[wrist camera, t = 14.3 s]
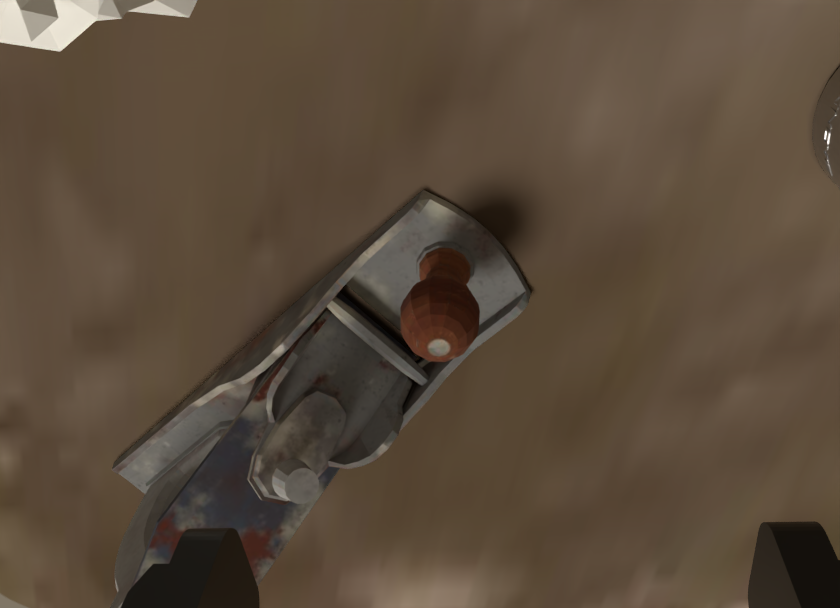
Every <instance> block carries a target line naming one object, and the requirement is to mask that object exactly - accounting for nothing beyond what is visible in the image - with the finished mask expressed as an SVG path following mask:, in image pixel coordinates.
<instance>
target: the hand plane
mask: <svg viewBox="0 0 840 608" xmlns="http://www.w3.org/2000/svg"><path fill="white" fill-rule="evenodd" d="M345 284H346V285H347V286H348V287H349V288H351V289H352V290H353V291H354V292H355V293H357V294H358V295H359V296H360V297H361V298H362V299H364V300H365V301H366V302H367V303H368V304H369V305H371V306H372V307H373V308H374V309H375V310H376V311H378V312H379V313H380V314H381V315H382V316H383V317H385V318H386V319H387V320H388V321H389V322H390V323H392V324H393V325H394V326H395V327H396V328H397V329H399V330H400V331H401V334H402V336H403V338H404V340H405V341H406V343H407V344H408V346H409V347H410V348H411V350H412V351H413V352H414V353H415V354H416V355H418V356H420V357H422V358H423V359H421V360H420V361H419V362H417V363H416V362H415V360H416V358H417V357H416V356H414V355H413V354H412V353H411V352H410V351H409V350H407V349H406V348H405V347H404V346H403V345H401V344H400V343H399V342H398V341H397V340H396V339H394V338H393V337H392V336H391V335H390V334H389V333H387V332H386V331H385V330H384V329H383V328H381V327H380V326H379V325H378V324H377V323H376V322H374V321H373V320H372V319H371V318H370V317H368V316H367V315H366V314H365V313H364V312H363V311H361V310H360V309H359V308H358V307H357V306H355V305H354V304H353V303H352V302H351V301H350V300H348V299H347V298H346V297H345V296H344V295H342V294H341V293H340V292H339V291H340V290H341V289H342V288H343V287H344V286H345ZM530 294H531V293H530V290H529V288H528V286H527V284H526V283H525V281H524V279H523V277H522V275H521V273H520V271H519V269H518V267H517V266H516V264H515V263H514V261H513V260H512V258H511V257H510V256H509V254H508V253H507V251H506V250H505V248H504V247H503V246H502V245H501V244H500V243H499V242H498V240H497V239H496V238H495V237H494V236H493V235H492V234H491V233H490V231H489V230H487V229H486V228H485V227H484V226H482V225H481V224H480V223H479V222H478V221H476V220H475V219H474V218H473V217H471V216H470V215H468V214H467V213H465V212H464V211H462V210H460V209H459V208H457V207H456V206H454V205H453V204H451V203H449V202H447V201H445V200H443V199H441V198H439V197H437V196H435V195H433V194H431V193H429V192H427V191H424V190H422V191H421V192H420V193H419V194H418V195H417V196H416V197H414V198H413V199H412V200H411V201H410V202H409V203H408V204H406V205H405V206H404V207H403V208H402V209H401V210H400V211H399V212H397V213H396V214H395V215H394V216H393V217H392V218H391V219H389V220H388V221H387V222H386V223H385V224H384V225H383V226H382V227H380V228H379V229H378V230H377V231H376V232H375V233H374V234H372V235H371V236H370V237H369V238H368V239H367V240H366V241H365V242H363V243H362V244H361V245H360V246H359V247H358V248H357V249H355V250H354V251H353V252H352V253H351V254H350V255H349V256H347V257H346V258H345V259H344V260H343V261H342V262H341V263H340V264H338V265H337V266H336V267H335V268H334V269H333V270H332V271H330V272H329V273H328V274H327V275H326V276H325V277H324V278H323V279H321V280H320V281H319V282H318V283H317V284H316V285H315V286H313V287H312V288H311V289H310V290H309V291H308V292H307V293H306V294H304V295H303V296H302V297H301V298H300V299H299V300H298V301H296V302H295V303H294V304H293V305H292V306H291V307H290V308H289V309H287V310H286V311H285V312H284V313H283V314H282V315H281V316H279V317H278V318H277V319H276V320H275V321H274V322H273V323H271V324H270V325H269V326H268V327H267V328H266V329H265V330H264V331H262V332H261V333H260V334H259V335H258V336H257V337H256V338H254V339H253V340H252V341H251V342H250V343H249V344H248V345H247V346H245V347H244V348H243V349H242V350H241V351H240V352H239V353H237V354H236V355H235V356H234V357H233V358H232V359H231V360H230V361H228V362H227V363H226V364H225V365H224V366H223V367H222V368H220V369H219V370H218V371H217V372H216V373H215V374H214V375H212V376H211V377H210V378H209V379H208V380H207V381H206V382H205V383H203V384H202V385H201V386H200V387H199V388H198V389H197V390H195V391H194V392H193V393H192V394H191V395H190V396H189V397H188V398H186V399H185V400H184V401H183V402H182V403H181V404H180V405H178V406H177V407H176V408H175V409H174V410H173V411H172V412H171V413H169V414H168V415H167V416H166V417H165V418H164V419H163V420H161V421H160V422H159V423H158V424H157V425H156V426H155V427H154V428H152V429H151V430H150V431H149V432H148V433H147V434H146V435H144V436H143V437H142V438H141V439H140V440H139V441H138V442H136V443H135V444H134V445H133V446H132V447H131V448H130V449H129V450H127V451H126V452H125V453H124V454H123V455H122V456H121V457H119V458H118V459H117V460H116V461H115V462H114V464H113V468H112V470H113V471H114V472H115V473H117V474H118V473H119V474H120V475H121V476H123V477H124V478H125V479H127V480H128V481H129V482H131V483H132V484H133V485H134V486H136V487H137V488H138V489H139V490H140V491H142V492H143V493H144V494H145V496H144V498H143V499H142V501H141V503H140V505H139V507H138V509H137V511H136V513H135V515H134V516H133V518H132V520H131V522H130V524H129V527H128V529H127V531H126V533H125V535H124V537H123V540H122V542H121V545H120V548H119V551H118V555H117V559H116V564H115V583H116V588H117V592H118V593H117V595H116V597H115V599H114V601H113V603H112V605H111V607H110V608H121V606H122V603H123V601H124V599H125V597H126V595H127V593H128V591H129V590H130V589H131V588H132V587H133V586H134V584H135V583H136V582H137V581H138V580H139V579H140V578H141V577H142V576H143V574H144V573H145V572H146V571H147V570H148V569H149V568H150V567H151V566H152V564H169V563H170V560H171V558H172V556H173V553H174V551H175V549H176V546H177V544H178V542H179V539H180V537H181V536H182V534H183V533H184V532H185V531H186V530H187V529H190V528H234V529H236V530H237V532H238V534H239V536H240V539H241V542H242V544H243V547H244V550H245V553H246V555H247V558H248V561H249V564H250V567H251V569H252V572H253V575H254V578H255V580H256V583H257V586H258V585H259V583H260V582H261V580H262V579H263V578H264V576H265V575H266V573H267V572H268V570H269V569H270V568H271V566H272V565H273V563H274V562H275V560H276V559H277V558H278V556H279V555H280V553H281V552H282V550H283V549H284V548H285V546H286V545H287V543H288V542H289V540H290V539H291V537H292V536H293V535H294V533H295V532H296V530H297V529H298V527H299V526H300V525H301V523H302V522H303V520H304V519H305V517H306V516H307V515H308V513H309V512H310V510H311V509H312V507H313V506H314V505H315V503H316V502H317V500H318V499H319V497H320V496H321V495H322V493H323V492H324V490H325V489H326V487H327V486H328V484H329V483H330V482H331V480H332V479H333V477H334V476H335V474H336V473H337V472H338V470H339V469H340V468H345V469H351V468H355V467H360V466H363V465H366V464H368V463H370V462H373V461H375V460H377V459H378V458H379V457H380V456H381V455H382V454H383V453H384V452H385V451H386V450H387V449H388V448H389V447H390V446H391V444H392V443H393V442H394V440H395V439H396V437H397V436H398V434H399V432H400V431H401V430H402V429H403V428H404V426H405V425H406V424H407V423H408V422H409V421H410V420H411V419H412V418H413V417H414V415H415V414H416V413H417V412H418V411H419V410H420V409H421V408H422V407H423V406H424V405H425V403H426V402H427V401H428V400H429V398H430V397H431V396H432V395H433V394H434V392H435V391H436V390H437V389H438V387H439V386H440V385H441V384H442V383H443V381H444V380H445V379H446V378H447V376H448V375H449V374H450V373H451V372H452V371H453V370H454V369H455V368H456V367H457V366H458V365H459V364H460V363H461V362H462V361H463V360H464V359H465V358H466V357H467V356H468V355H469V354H470V353H471V352H472V351H473V350H474V349H475V348H477V347H478V346H479V345H481V344H482V343H483V342H485V341H486V340H487V339H489V338H490V337H491V336H493V335H494V334H495V333H497V332H498V331H499V330H501V329H502V328H503V327H505V326H506V325H507V324H508V323H510V322H511V321H512V320H514V319H515V318H516V317H517V316H518V315H519V314H521V313H522V312H523V310H524V309H525V308H526V306H527V305H528V302H529V298H530Z"/></svg>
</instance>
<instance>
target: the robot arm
mask: <svg viewBox="0 0 840 608" xmlns="http://www.w3.org/2000/svg"><path fill="white" fill-rule="evenodd" d="M812 140H813V145H814V150H815V155H816V157H817V159H818V161H819V163H820V165H821V167H822V169H823V171H824V172H825V173H826V174H827V175H828V176H829V177H830V179H831V180H832V181H833V182H834V183H835V184H836V185H837V187H838V188H839V189H840V67H839V68H838V69H837V70H836V72H835V73H834V74H833V76H832V77H831V78H830V80H829V81H828V83H827V85H826V87H825V89H824V91H823V93H822V95H821V97H820V99H819V101H818V104H817V108H816V111H815V115H814V119H813V132H812ZM748 603H749V608H840V560H838V558H837V556H836V554H835V552H834V550H833V547H832V545H831V543H830V541H829V539H828V536H827V534H826V532H825V530H824V529H823V527H822V526H821V525H820V524H819V523H818V522H763V523H762V524H761V525H760V528H759V532H758V537H757V543H756V548H755V553H754V559H753V564H752V570H751V575H750V580H749V587H748ZM121 608H259V591H258V586H257V583H256V580H255V578H254V575H253V572H252V569H251V567H250V564H249V561H248V558H247V555H246V553H245V550H244V547H243V544H242V542H241V539H240V536H239V534H238V532H237V530H236V529H234V528H190V529H187V530H186V531H185V532H184V533H183V534H182V536H181V537H180V539H179V542H178V544H177V546H176V549H175V551H174V553H173V556H172V558H171V560H170V563H169V564H152V566H151V567H150V568H149V569H148V570H147V571H146V572H145V573H144V574H143V576H142V577H141V578H140V579H139V580H138V581H137V582H136V583H135V584H134V586H133V587H132V588H131V589H130V590H129V591H128V593H127V595H126V597H125V599H124V601H123V603H122V606H121Z"/></svg>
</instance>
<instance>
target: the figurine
mask: <svg viewBox="0 0 840 608" xmlns="http://www.w3.org/2000/svg"><path fill="white" fill-rule="evenodd" d="M196 2H197V0H0V42H2V43H8V44H15V45H21V46H28V47H34V48H40V49H47V50H53V51H61V50H63V49H64V48H65V47H66V46H67V45H68V44H69V43H71V42H72V41H73V40H74V39H75V38H76V37H78V36H79V35H80V34H81V33H82V32H83V31H84V30H86V29H87V28H88V27H89V26H90V25H91V24H93V23H94V22H95V21H99V20H111V19H122V17H123V16H124V14H125V13H126V12H127V11H132V12H142V13H151V14H161V15H171V16H180V17H190V15H191V13H192V11H193V8H194V6H195V4H196Z"/></svg>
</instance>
